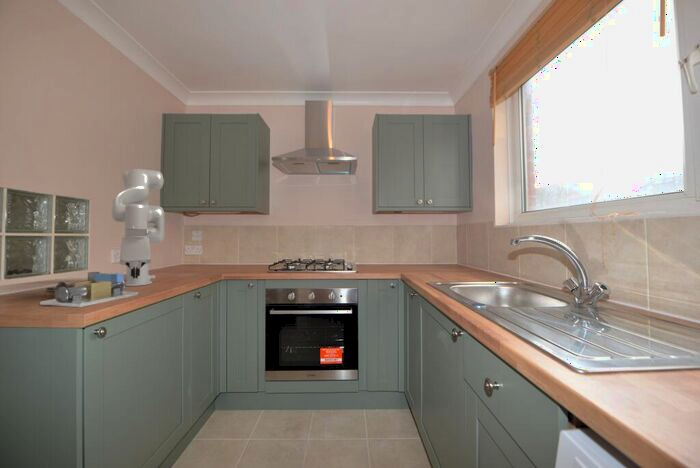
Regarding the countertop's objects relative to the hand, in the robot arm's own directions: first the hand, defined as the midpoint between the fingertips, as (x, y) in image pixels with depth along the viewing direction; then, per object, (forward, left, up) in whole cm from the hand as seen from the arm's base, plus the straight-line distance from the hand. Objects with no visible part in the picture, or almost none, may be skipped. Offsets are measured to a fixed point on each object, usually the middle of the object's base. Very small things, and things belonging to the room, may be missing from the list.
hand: (135, 278), depth 124 cm
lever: (+5, -9, -1) cm, 11 cm away
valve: (-6, -40, -9) cm, 41 cm away
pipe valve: (+5, -15, -8) cm, 18 cm away
